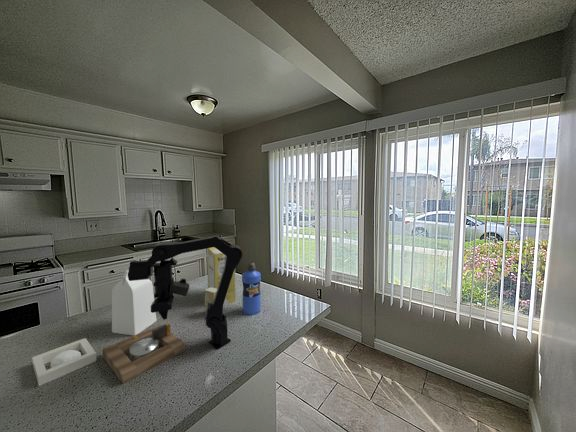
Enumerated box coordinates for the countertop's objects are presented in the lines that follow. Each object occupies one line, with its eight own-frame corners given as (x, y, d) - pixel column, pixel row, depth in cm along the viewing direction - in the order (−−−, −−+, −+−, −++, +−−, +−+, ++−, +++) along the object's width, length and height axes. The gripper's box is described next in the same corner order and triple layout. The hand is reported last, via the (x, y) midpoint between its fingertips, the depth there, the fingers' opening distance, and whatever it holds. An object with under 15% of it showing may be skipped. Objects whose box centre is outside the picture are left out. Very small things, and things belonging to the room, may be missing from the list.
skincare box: (204, 313, 116) (203, 289, 115) (211, 310, 119) (210, 286, 118) (214, 317, 113) (213, 292, 112) (220, 313, 116) (220, 289, 115)
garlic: (87, 356, 85) (86, 346, 85) (70, 370, 78) (70, 359, 78) (64, 357, 85) (63, 347, 84) (46, 370, 78) (45, 360, 78)
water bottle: (263, 313, 117) (262, 263, 114) (244, 316, 113) (243, 265, 111) (258, 305, 125) (258, 259, 123) (240, 308, 122) (240, 260, 120)
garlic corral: (96, 360, 82) (96, 352, 82) (38, 386, 71) (37, 377, 71) (85, 345, 91) (85, 337, 91) (32, 365, 80) (32, 357, 80)
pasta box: (208, 293, 139) (207, 247, 137) (225, 290, 145) (224, 245, 142) (216, 305, 124) (214, 253, 122) (235, 301, 129) (234, 251, 127)
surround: (185, 350, 88) (184, 342, 88) (122, 384, 72) (122, 374, 72) (160, 331, 100) (160, 324, 100) (102, 356, 85) (102, 348, 84)
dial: (135, 365, 80) (134, 344, 79) (126, 354, 86) (125, 335, 85) (175, 345, 91) (174, 327, 90) (164, 336, 96) (163, 319, 96)
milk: (135, 335, 97) (131, 274, 95) (111, 332, 100) (108, 272, 97) (156, 320, 109) (154, 265, 107) (135, 318, 111) (132, 264, 109)
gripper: (187, 283, 79) (188, 327, 81) (187, 267, 97) (189, 304, 98) (149, 288, 75) (151, 334, 76) (157, 270, 92) (158, 309, 94)
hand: (165, 318), depth 86 cm, fingers closed
